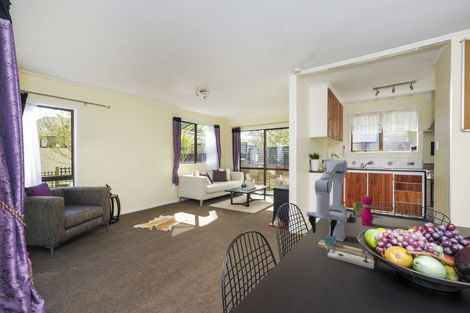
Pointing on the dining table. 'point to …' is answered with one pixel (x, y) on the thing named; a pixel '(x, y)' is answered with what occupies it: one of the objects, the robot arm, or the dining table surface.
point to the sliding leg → (330, 241)
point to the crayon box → (358, 208)
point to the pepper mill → (367, 211)
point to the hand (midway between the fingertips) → (322, 234)
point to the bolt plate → (351, 258)
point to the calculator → (349, 217)
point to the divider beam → (347, 250)
